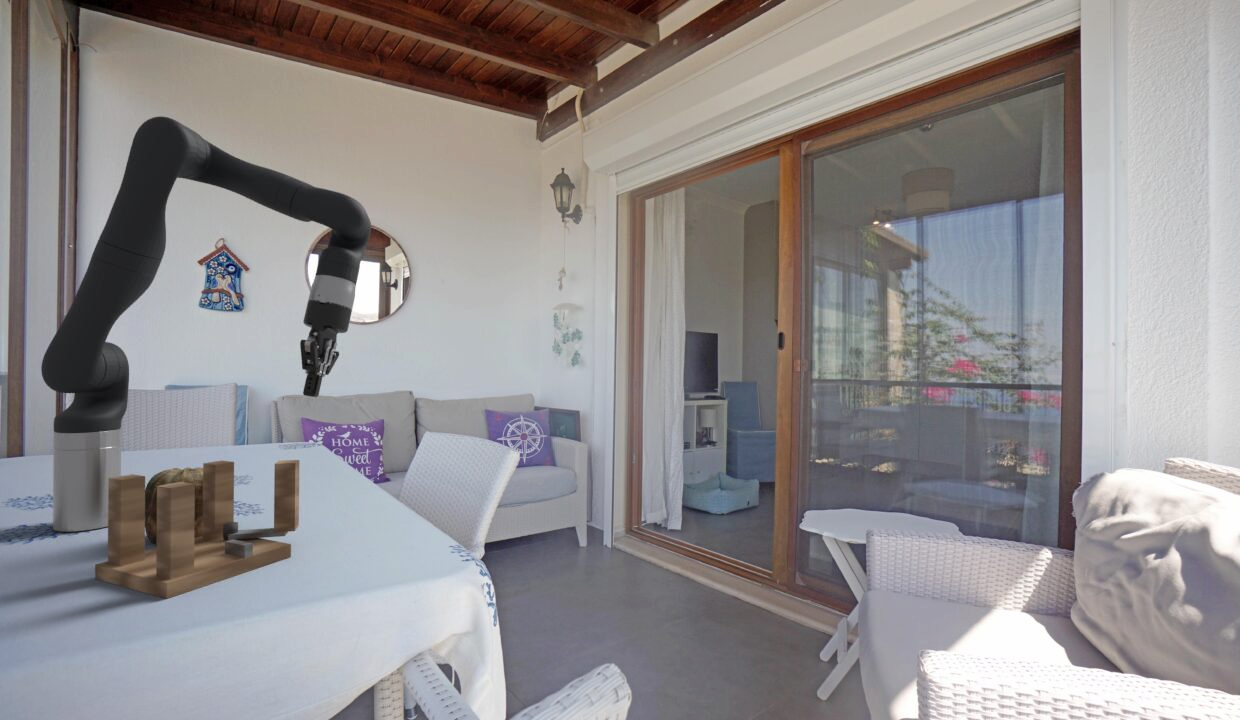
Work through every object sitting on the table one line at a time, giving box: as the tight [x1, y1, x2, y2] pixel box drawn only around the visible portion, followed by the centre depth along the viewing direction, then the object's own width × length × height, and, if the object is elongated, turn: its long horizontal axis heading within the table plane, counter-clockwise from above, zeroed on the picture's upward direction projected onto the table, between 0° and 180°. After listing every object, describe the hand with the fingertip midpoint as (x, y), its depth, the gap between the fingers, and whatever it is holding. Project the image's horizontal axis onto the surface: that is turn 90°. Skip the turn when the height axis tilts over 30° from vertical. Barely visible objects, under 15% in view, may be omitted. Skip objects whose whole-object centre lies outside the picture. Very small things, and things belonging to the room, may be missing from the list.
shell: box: [145, 466, 203, 545], centre depth 104 cm, size 11×11×12 cm
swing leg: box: [223, 459, 300, 540], centre depth 98 cm, size 10×3×12 cm, turn 107°
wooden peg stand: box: [94, 459, 292, 600], centre depth 90 cm, size 16×18×14 cm
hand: (310, 396), depth 110 cm, fingers closed
